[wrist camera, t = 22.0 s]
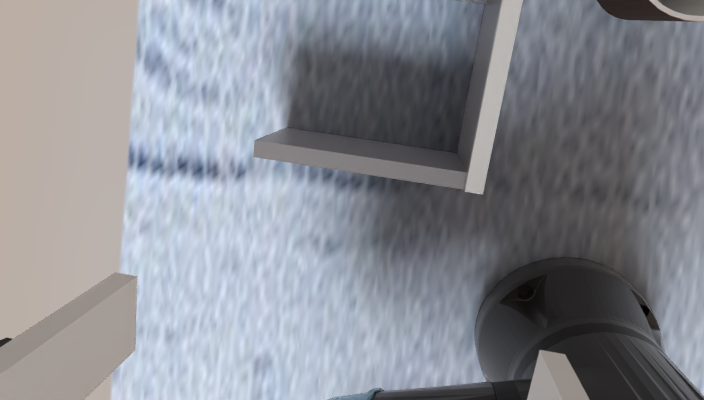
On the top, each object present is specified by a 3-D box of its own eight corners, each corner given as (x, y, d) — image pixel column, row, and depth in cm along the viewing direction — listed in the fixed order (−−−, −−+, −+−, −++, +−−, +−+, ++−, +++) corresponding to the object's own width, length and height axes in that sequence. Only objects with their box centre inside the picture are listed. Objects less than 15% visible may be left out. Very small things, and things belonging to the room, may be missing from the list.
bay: (503, -11, 39) (530, -38, 30) (468, 168, 43) (482, 194, 33) (302, -35, 40) (269, -68, 31) (285, 141, 44) (250, 158, 35)
